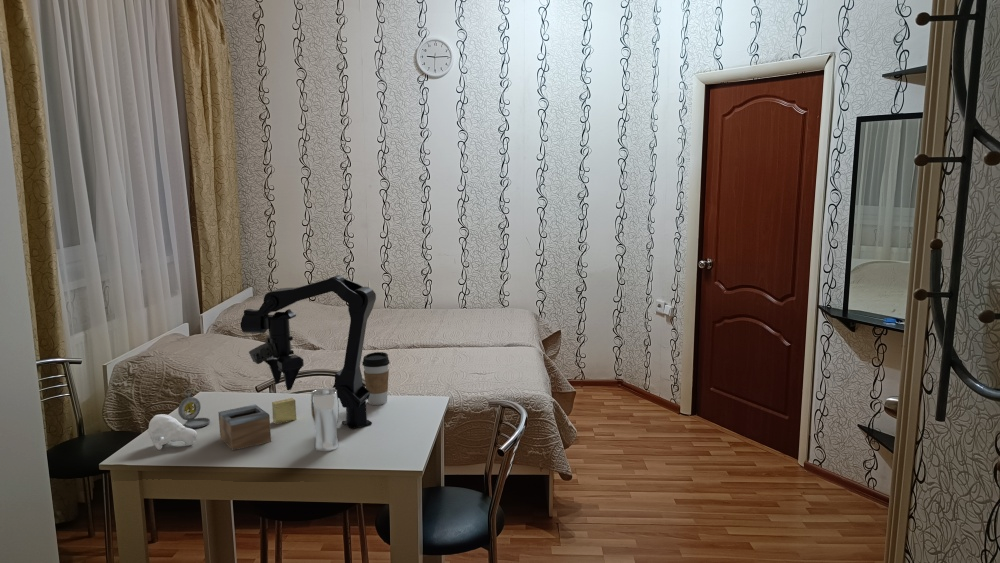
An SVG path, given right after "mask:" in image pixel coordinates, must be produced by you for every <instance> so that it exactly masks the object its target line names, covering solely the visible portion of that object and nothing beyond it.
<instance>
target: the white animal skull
mask: <svg viewBox="0 0 1000 563" xmlns="http://www.w3.org/2000/svg"><path fill="white" fill-rule="evenodd" d="M147 432H148V436H149V439H150V440H151V442H152V444H153V445H154V447H155V448H156V449H157V450H159V451H160V450H161V449H162V448H163V445H166V444H169V443H170V442H171V443H174V442H175V443H176V442H183V443H184V446H185V447H188V446H193V444H194V442H195V441H197V439H198V433H197V431H196V430H195V429H193V428H190V427H186V426H185V425H183V424H182V422H180V421H178V420H177V418H175V417H173V416H171V415H169V414H164V413H163V414H162V413H160V414H155V415H154V416H153V417H152V418H151V419H150V421H149V423H148V430H147Z"/></svg>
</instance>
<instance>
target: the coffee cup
mask: <svg viewBox="0 0 1000 563" xmlns="http://www.w3.org/2000/svg"><path fill="white" fill-rule="evenodd" d="M361 363H362V364H361V366H363V376H364V384H365V387H366V388H367V389H368V390H369V391H370V396H369V399H367V403H368V404H369V405H371V404H372V406H379V405H385V404H387V403H388V391H389V373H390V371H389V370H390V369H389V364H390V359H389V354H388V353H386V352H385V351H384V352H382V351H378V352H377V351H376V352H374V351H373V352H371V353H367V354H366V355H364V356H363V360H362V361H361Z"/></svg>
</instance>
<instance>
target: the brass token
mask: <svg viewBox="0 0 1000 563" xmlns="http://www.w3.org/2000/svg"><path fill="white" fill-rule="evenodd" d="M271 407H272V409H271V410H272V422H273V423H274V422H275V423H276V425H278V424H277V423H280V424H282V423H281V422H284V423H287V422H286V421H289V422H292V421H291V420H293V421H296V420H297V406H296V399H294V398H293V397H291V398H286V399H281V400H275V401H271ZM275 423H274V424H275Z"/></svg>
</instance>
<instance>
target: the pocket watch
mask: <svg viewBox="0 0 1000 563" xmlns="http://www.w3.org/2000/svg"><path fill="white" fill-rule="evenodd" d="M188 390H189V391H190V392H189V391H188ZM186 391H187V393H186ZM192 393H193V390H192V389H191V388H187V389H186V390H184V391H183V395H186V396H187V397H186V398H184V399H183V400H181V402H180V403H179V405H178V408H177V409H178V411H177V412H178V415H179V417H180V418H181V419H182V420H184V421H185V422H184V424H185V425H184V426H185V427H186V428H190V429H193V428H195V429H197V428H202V427H205V426H207V425H209V424H210V422H211V419H210V418H208V417H197V416H199V414H200V411H201V406H202V405H201V402H200V400H199V399H198V398H196V397H195V396H191V395H192Z"/></svg>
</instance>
